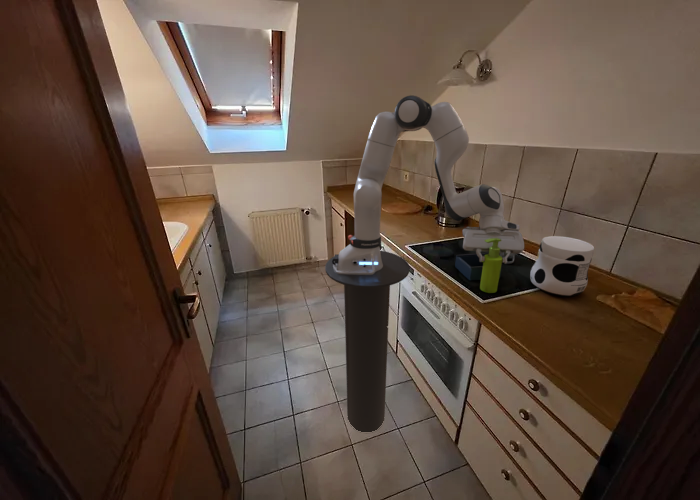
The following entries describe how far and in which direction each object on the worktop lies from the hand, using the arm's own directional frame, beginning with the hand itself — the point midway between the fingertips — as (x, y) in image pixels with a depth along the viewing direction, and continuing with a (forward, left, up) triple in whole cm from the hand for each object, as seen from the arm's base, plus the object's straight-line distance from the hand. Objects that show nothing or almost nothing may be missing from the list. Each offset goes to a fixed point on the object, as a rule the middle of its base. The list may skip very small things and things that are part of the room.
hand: (493, 262), depth 106 cm
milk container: (+25, -2, -12) cm, 28 cm away
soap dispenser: (0, +1, -11) cm, 12 cm away
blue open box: (+4, +15, -11) cm, 19 cm away
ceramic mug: (+22, +25, -12) cm, 35 cm away
